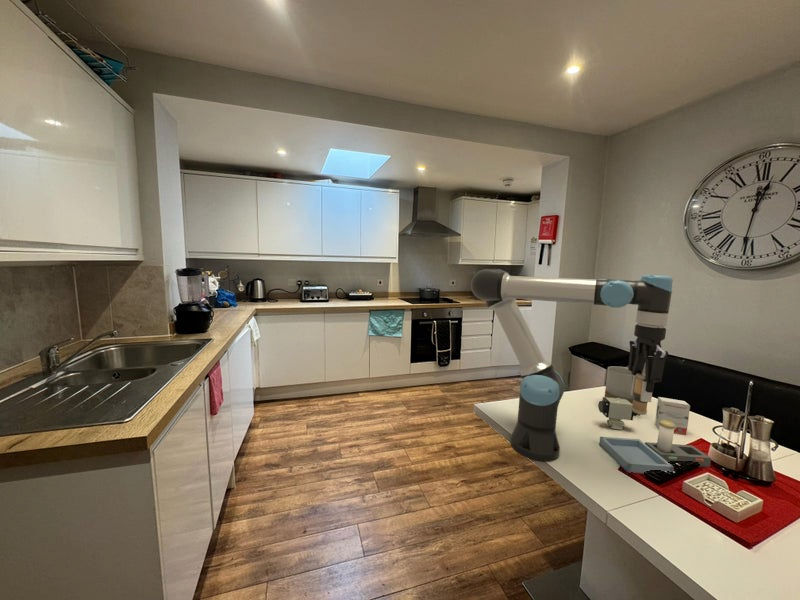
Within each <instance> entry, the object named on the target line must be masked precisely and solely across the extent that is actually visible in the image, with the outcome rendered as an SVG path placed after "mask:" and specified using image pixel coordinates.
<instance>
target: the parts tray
mask: <svg viewBox="0 0 800 600" xmlns="http://www.w3.org/2000/svg"><path fill="white" fill-rule="evenodd" d="M598 444H599V446H600V447H602V448H603V450H604V451H605V452H606V453H607V454H609V456H610V457H611V458H613V459H614V461H615V462H616V463H617V464H618V465H620V467H621V468H622V469H624V471H626V473H631V472H633V473H634V474H644V472H646V471H650V470H661V471H669V472H673V473H674V470H675V466H673V464H670V463H668V462H667V461H666V460H665V459H663V458H662V457H661V456H660V455H658V454H657V453H656V452H655V451H653V450H652V449H651V448H650V447H648V446H647V445H646V444H645V442H644V441H642V440H641V439H640V438H639V439H638V438H624V437H614V436H613V437H610V436H599V441H598ZM633 473H632V474H633Z"/></svg>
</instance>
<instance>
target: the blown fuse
mask: <svg viewBox="0 0 800 600" xmlns="http://www.w3.org/2000/svg"><path fill="white" fill-rule="evenodd" d="M643 379H645V373H644V374H641V373H637V374H636V382H635V390H634V396H633V405H632V409H631V410H632V411H633V412H634V413H637V414H640V416H643V415H644V416H645V415H647V411H648V410H647V409H648V403H649V402H643V401H640V398H641V391H642V384H643Z"/></svg>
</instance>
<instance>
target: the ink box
mask: <svg viewBox="0 0 800 600" xmlns="http://www.w3.org/2000/svg"><path fill="white" fill-rule="evenodd" d="M690 410H691V405H690V404H689V403H687V402H686V401H685V400H680V399H679V400H678V399H675V398H674V399H673V398H668V397H661V396H657V403H656V413H655V419H654V420H655V421H654V425H655V427H656V429H657V430H658V431H659V426H660V424H659V423H660V420H667V421H670V422H673V423H674V424H675V428H674V434H677V435H678V434H679V435H683V436H687V433H688V432H687V431H688V427H689V426H688V424H689V417H690Z"/></svg>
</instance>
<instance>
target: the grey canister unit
mask: <svg viewBox="0 0 800 600" xmlns="http://www.w3.org/2000/svg"><path fill="white" fill-rule="evenodd" d="M606 371H607V372H606V383H605V388H604V397H607V398H620V399H626V400H629V401H630V402H632V403H633V396H632V395H631V388H632V377H633V374H632V372H631V371H629V370H628V367H625V366H616V365H615V366H613V365H612V366H607V370H606ZM642 373H643V374H645V372H642ZM637 416H641V414H637Z"/></svg>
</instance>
